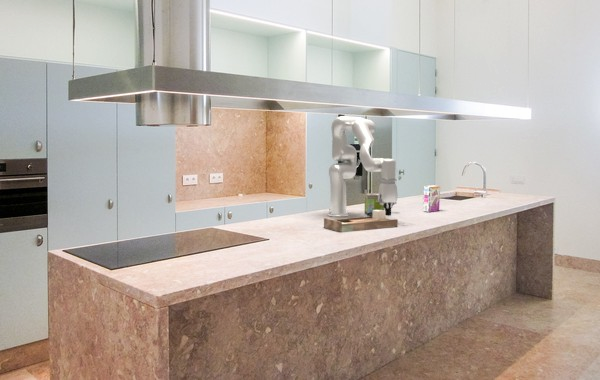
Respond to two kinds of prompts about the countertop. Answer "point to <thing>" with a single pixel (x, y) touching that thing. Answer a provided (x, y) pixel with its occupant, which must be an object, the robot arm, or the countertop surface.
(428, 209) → the candy bar box
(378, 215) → the cream block
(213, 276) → the countertop surface
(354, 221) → the trap board
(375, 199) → the tea box
